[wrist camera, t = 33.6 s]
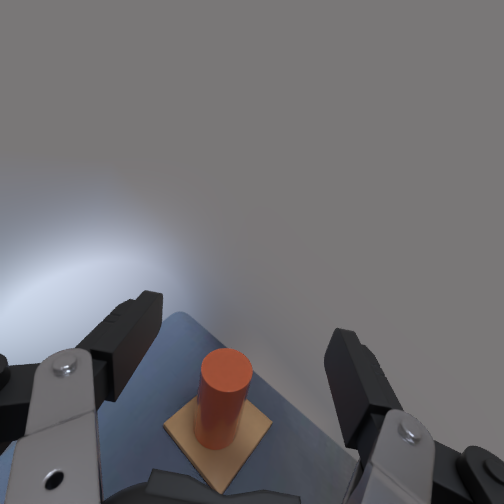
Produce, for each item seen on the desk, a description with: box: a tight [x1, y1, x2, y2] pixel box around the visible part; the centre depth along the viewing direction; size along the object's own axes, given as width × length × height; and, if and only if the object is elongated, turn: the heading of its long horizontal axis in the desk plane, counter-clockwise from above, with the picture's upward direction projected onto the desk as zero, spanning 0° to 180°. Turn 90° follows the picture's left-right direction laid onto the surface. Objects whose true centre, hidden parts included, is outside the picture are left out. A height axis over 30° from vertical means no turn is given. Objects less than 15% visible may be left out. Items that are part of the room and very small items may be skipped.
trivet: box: [164, 396, 272, 495], centre depth 31 cm, size 10×10×1 cm
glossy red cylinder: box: [193, 348, 253, 450], centre depth 29 cm, size 6×6×10 cm
